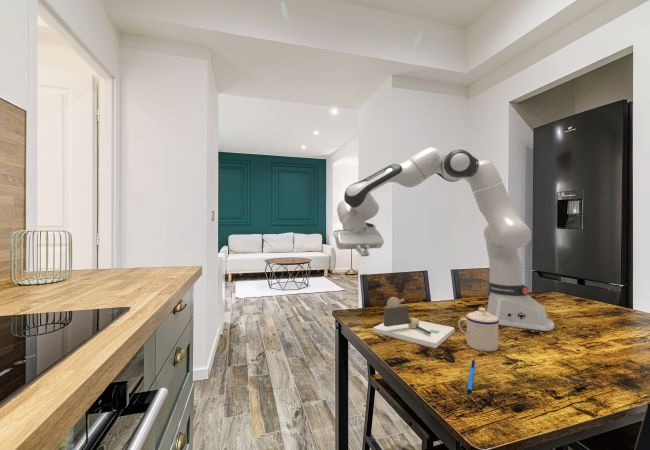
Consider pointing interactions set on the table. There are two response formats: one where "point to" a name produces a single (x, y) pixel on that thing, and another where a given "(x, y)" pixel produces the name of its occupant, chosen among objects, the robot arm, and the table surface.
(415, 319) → the tuning peg
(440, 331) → the white rectangular slab
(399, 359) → the table surface
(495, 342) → the teacup with lid
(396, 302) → the decorative ornament
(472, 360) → the pen
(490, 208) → the robot arm
